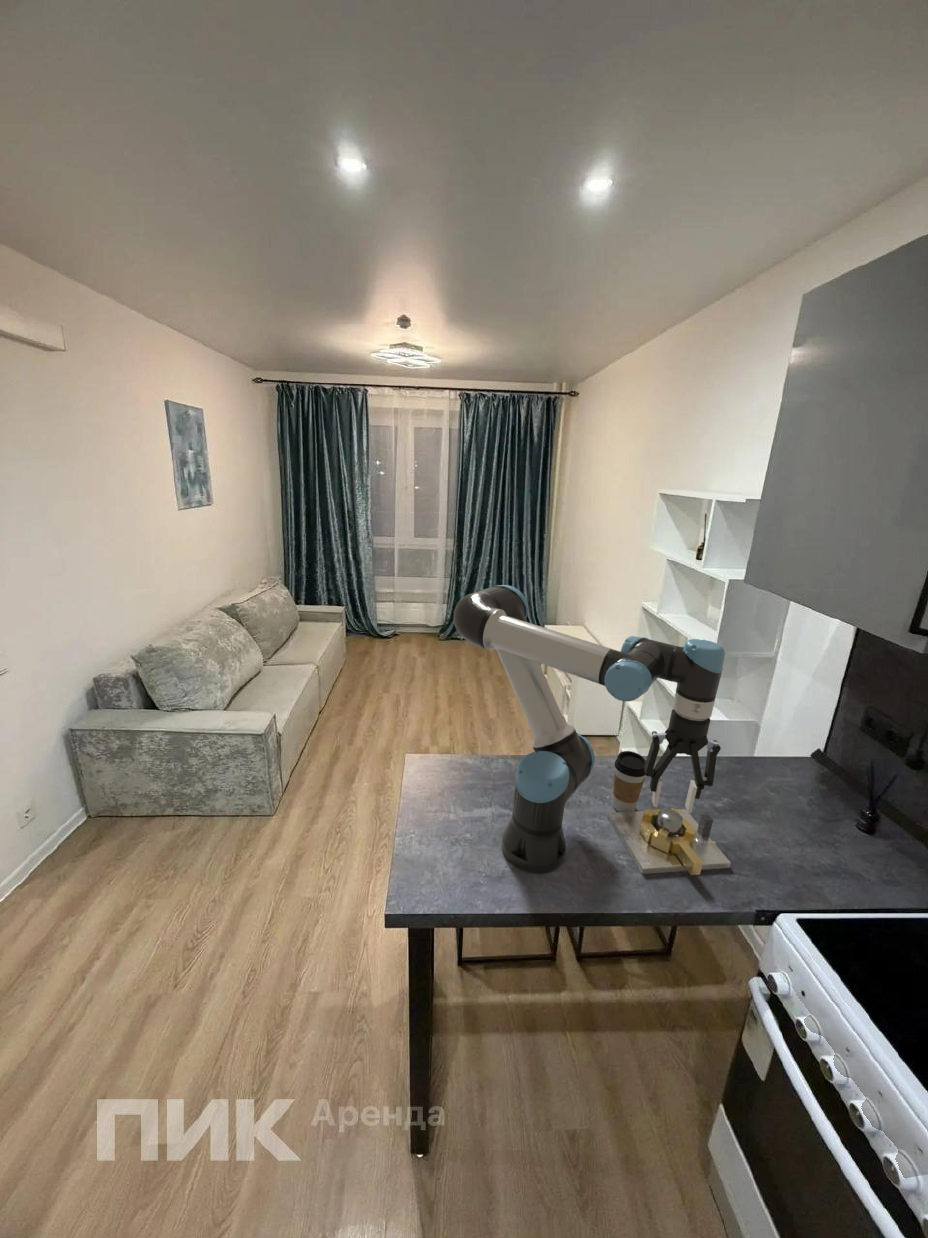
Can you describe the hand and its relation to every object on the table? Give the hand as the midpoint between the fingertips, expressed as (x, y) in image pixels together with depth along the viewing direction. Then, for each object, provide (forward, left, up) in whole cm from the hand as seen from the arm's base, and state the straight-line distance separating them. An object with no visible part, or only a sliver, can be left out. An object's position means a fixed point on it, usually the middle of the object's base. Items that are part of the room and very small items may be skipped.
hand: (671, 805), depth 111 cm
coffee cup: (+2, +21, -17) cm, 27 cm away
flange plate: (+6, +8, -17) cm, 20 cm away
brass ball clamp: (+6, +5, -15) cm, 17 cm away
